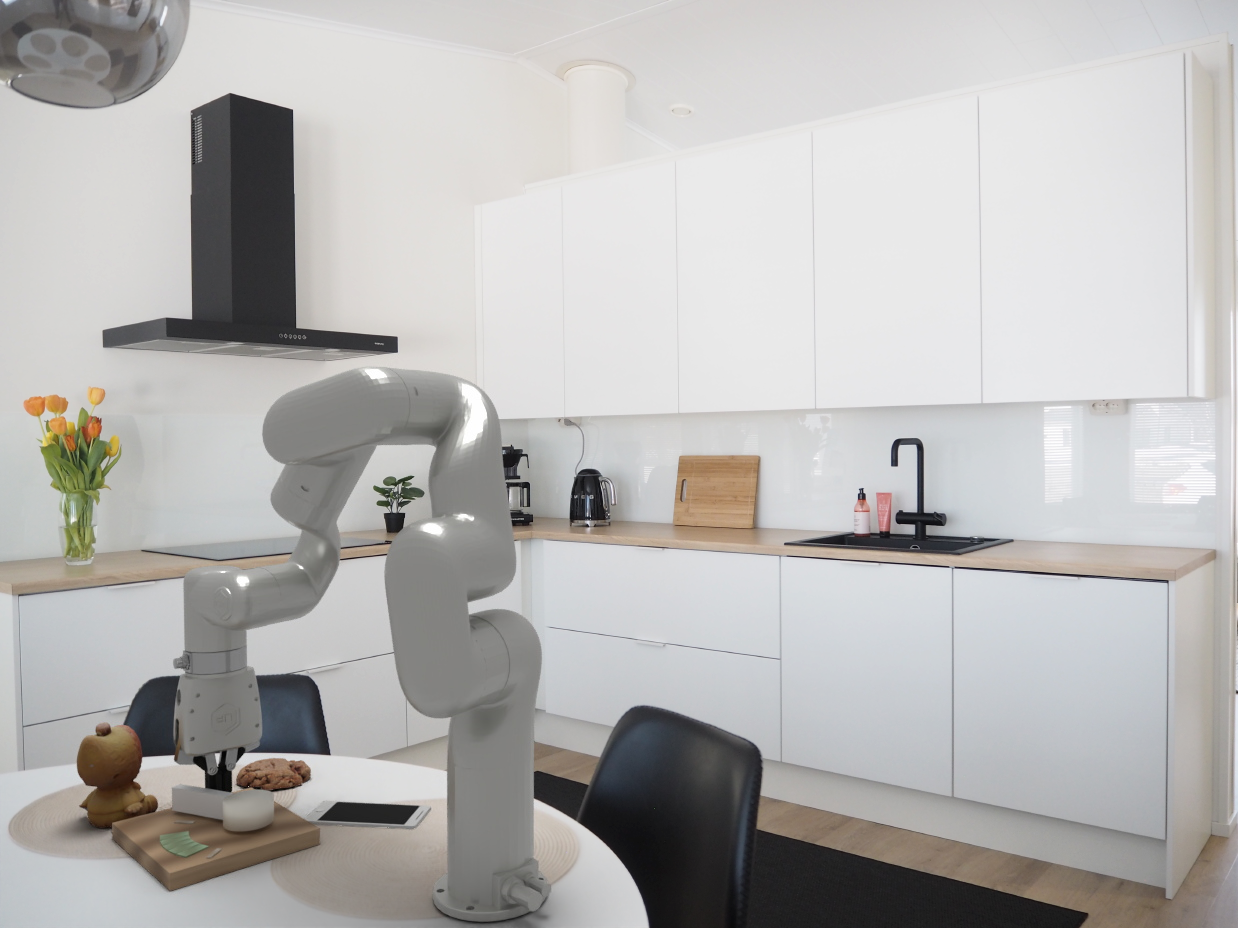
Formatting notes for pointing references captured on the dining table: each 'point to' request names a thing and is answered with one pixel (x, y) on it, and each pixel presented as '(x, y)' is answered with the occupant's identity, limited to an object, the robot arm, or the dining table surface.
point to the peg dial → (226, 806)
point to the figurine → (113, 775)
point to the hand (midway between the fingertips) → (218, 800)
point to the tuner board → (208, 843)
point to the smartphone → (368, 814)
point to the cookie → (274, 774)
